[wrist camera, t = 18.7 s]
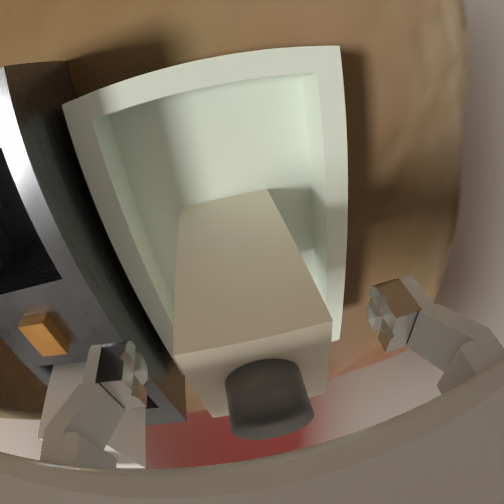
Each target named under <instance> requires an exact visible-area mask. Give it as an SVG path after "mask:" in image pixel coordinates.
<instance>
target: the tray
mask: <svg viewBox="0 0 504 504" xmlns="http://www.w3.org/2000/svg"><path fill="white" fill-rule="evenodd" d="M62 108H63V112H64V115H65V119H66V122H67V126H68V129H69V132H70V135H71V139H72V142H73V145H74V148H75V151H76V154H77V157H78V160H79V163H80V166H81V168H82V171H83V174H84V177H85V180H86V182H87V185H88V188H89V190H90V193H91V195H92V198H93V200H94V203H95V205H96V208H97V210H98V213H99V215H100V218H101V220H102V222H103V225H104V227H105V229H106V232H107V234H108V236H109V239H110V241H111V243H112V245H113V247H114V250H115V252H116V254H117V256H118V258H119V260H120V262H121V265H122V267H123V269H124V271H125V273H126V275H127V277H128V279H129V281H130V283H131V285H132V287H133V289H134V291H135V293H136V295H137V297H138V299H139V300H140V302H141V304H142V306H143V308H144V310H145V312H146V314H147V315H148V317H149V319H150V321H151V323H152V324H153V326H154V328H155V330H156V331H157V333H158V335H159V337H160V338H161V340H162V342H163V344H164V345H165V347H166V349H167V350H168V352H169V354H170V355H171V357H172V359H173V360H174V362H175V363H176V365H177V367H178V368H179V370H180V371H181V373H182V375H184V373H183V371H182V369H181V368H180V366H179V364H178V363H177V361H176V359H175V358H174V356H173V326H174V294H175V273H176V256H177V241H178V228H179V216H180V208H181V207H185V206H190V205H194V204H198V203H203V202H207V201H212V200H216V199H221V198H225V197H230V196H235V195H239V194H244V193H249V192H254V191H259V190H264V189H267V190H268V192H269V194H270V196H271V198H272V200H273V202H274V203H275V205H276V207H277V209H278V211H279V213H280V215H281V217H282V219H283V221H284V223H285V224H286V226H287V228H288V230H289V232H290V234H291V236H292V238H293V240H294V242H295V244H296V246H297V248H298V250H299V252H300V254H301V256H302V258H303V260H304V262H305V264H306V266H307V268H308V270H309V272H310V274H311V276H312V278H313V280H314V282H315V284H316V286H317V288H318V290H319V292H320V294H321V296H322V298H323V300H324V303H325V305H326V307H327V309H328V311H329V313H330V315H331V317H332V319H333V327H332V339H331V342H333V341H336V340H339V339H340V330H341V321H342V310H343V298H344V285H345V270H346V252H347V224H348V155H347V128H346V110H345V96H344V83H343V72H342V63H341V53H340V46H305V47H289V48H276V49H266V50H257V51H249V52H242V53H235V54H229V55H223V56H217V57H212V58H207V59H202V60H197V61H192V62H188V63H184V64H179V65H175V66H171V67H167V68H164V69H160V70H156V71H153V72H149V73H146V74H142V75H139V76H136V77H133V78H130V79H127V80H124V81H121V82H118V83H115V84H112V85H109V86H107V87H104V88H101V89H98V90H96V91H93V92H91V93H88V94H86V95H83V96H81V97H79V98H76V99H74V100H72V101H69V102H67V103H65V104H63V105H62Z"/></svg>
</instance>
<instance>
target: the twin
mask: <svg viewBox="0 0 504 504" xmlns="http://www.w3.org/2000/svg"><path fill="white" fill-rule="evenodd" d="M332 327H333V319H332V317H331V315H330V313H329V311H328V309H327V307H326V305H325V303H324V300H323V298H322V296H321V294H320V292H319V290H318V288H317V286H316V284H315V282H314V280H313V278H312V276H311V274H310V272H309V270H308V268H307V266H306V264H305V262H304V260H303V258H302V256H301V254H300V252H299V250H298V248H297V246H296V244H295V242H294V240H293V238H292V236H291V234H290V232H289V230H288V228H287V226H286V224H285V223H284V221H283V219H282V217H281V215H280V213H279V211H278V209H277V207H276V205H275V203H274V202H273V200H272V198H271V196H270V194H269V192H268V190H267V189H264V190H259V191H254V192H249V193H244V194H239V195H235V196H230V197H225V198H221V199H216V200H212V201H207V202H203V203H198V204H194V205H190V206H185V207H181V208H180V216H179V228H178V241H177V256H176V273H175V294H174V326H173V356H174V358H175V359H176V361H177V363H178V364H179V366H180V368H181V369H182V371H183V373H184V374H185V376H186V377H187V379H188V381H189V382H190V384H191V385H192V387H193V388H194V390H195V392H196V393H197V395H198V396H199V398H200V399H201V401H202V402H203V404H204V405H205V407H206V408H207V410H208V411H209V413H210V414H211V416H212V417H220V416H227V415H229V416H230V422H231V429H232V433H233V434H234V435H235V436H237V437H239V438H243V439H250V440H261V439H270V438H275V437H279V436H283V435H287V434H289V433H292V432H295V431H297V430H299V429H301V428H302V427H304V426H306V425H307V424H308V423H309V422H310V421H311V420H312V419H313V417H314V412H313V409H312V406H311V403H310V400H309V397H312V396H316V395H319V394H323V393H326V388H327V379H328V370H329V361H330V350H331V339H332Z"/></svg>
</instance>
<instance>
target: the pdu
mask: <svg viewBox="0 0 504 504" xmlns="http://www.w3.org/2000/svg"><path fill="white" fill-rule="evenodd" d="M74 99H75V96H74V92H73V88H72V84H71V79H70V75H69V71H68V66H67V62H66V61H51V62H37V63H26V64H17V65H9V66H3V67H2V68H0V338H1V339H2V340H3V341H4V342H5V343H6V345H7V346H8V347H9V348H10V349H11V350H12V351H13V352H14V354H15V355H16V356H17V357H18V358H19V359H20V360H21V361H22V362H23V363H24V364H25V365H26V366H27V367H28V368H29V369H30V370H31V371H32V372H33V373H34V374H35V375H36V376H37V377H38V378H39V379H40V380H41V381H42V382H43V383H44V384H45V385H46V386H47V387H48V384H49V380H50V376H51V372H52V368H53V365H56V364H68V363H79V362H87V358H88V353H89V349H90V348H91V346H92V345H99V344H106V343H115V342H123V341H132V342H133V344H134V345H135V346H136V350H135V352H137V353H139V354H141V355H142V356H143V358H144V360H145V362H146V365H147V371H148V380H147V381H146V382H145V384H144V385H143V386H144V387H145V388H146V390H147V407H146V417H145V425H155V424H166V423H177V422H186V421H187V416H186V399H185V376H184V375H182V373H181V371H180V370H179V368H178V367H177V365H176V363H175V362H174V360H173V359H172V357H171V355H170V354H169V352H168V350H167V349H166V347H165V345H164V344H163V342H162V340H161V338H160V337H159V335H158V333H157V331H156V330H155V328H154V326H153V324H152V323H151V321H150V319H149V317H148V315H147V314H146V312H145V310H144V308H143V306H142V304H141V302H140V300H139V299H138V297H137V295H136V293H135V291H134V289H133V287H132V285H131V283H130V281H129V279H128V277H127V275H126V273H125V271H124V269H123V267H122V265H121V262H120V260H119V258H118V256H117V254H116V252H115V250H114V247H113V245H112V243H111V241H110V239H109V236H108V234H107V232H106V229H105V227H104V225H103V222H102V220H101V218H100V215H99V213H98V210H97V208H96V205H95V203H94V200H93V198H92V195H91V193H90V190H89V188H88V185H87V182H86V180H85V177H84V174H83V171H82V168H81V166H80V163H79V160H78V157H77V154H76V151H75V148H74V145H73V142H72V139H71V135H70V132H69V129H68V126H67V122H66V119H65V115H64V112H63V108H62V105H63V104H65V103H67V102H69V101H72V100H74Z"/></svg>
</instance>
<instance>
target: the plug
mask: <svg viewBox="0 0 504 504" xmlns="http://www.w3.org/2000/svg"><path fill="white" fill-rule="evenodd" d="M85 367H86V362H79V363H68V364H56V365H53V368H52V372H51V376H50V380H49V384H48V389H47V393H46V397H45V402H44V407H43V412H42V417H41V422H40V428H39V434H38V439H40V440H41V441H43V436H44V429H45V427H46V426H47V425H48V423H49V422H50V421H51V420H52V418H53V417H54V416H55V414H56V413H57V412H58V410H59V409H60V408H61V407H62V405H63V404H64V403H65V401H66V400H67V399H68V398H69V396H70V395H71V394H72V393H73V391H74V390H75V389H76V388H77V386H78V385H79V384H82V382H83V377H84V372H85ZM125 410H126V411H125V412H124V414H123V416H122V418H121V420H120V421H119V423H118V425H117V427H116V429H115V430H114V432H113V434H112V436H111V438H110V440H109V441H108V443H107V445H106V447H105V449H104V450H105V451H106V452H108V453H110V454H111V455H113V456H114V457H115V458H116V468H146V462H145V461H146V457H145V417H146V407H140V408H130V409H125Z"/></svg>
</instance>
